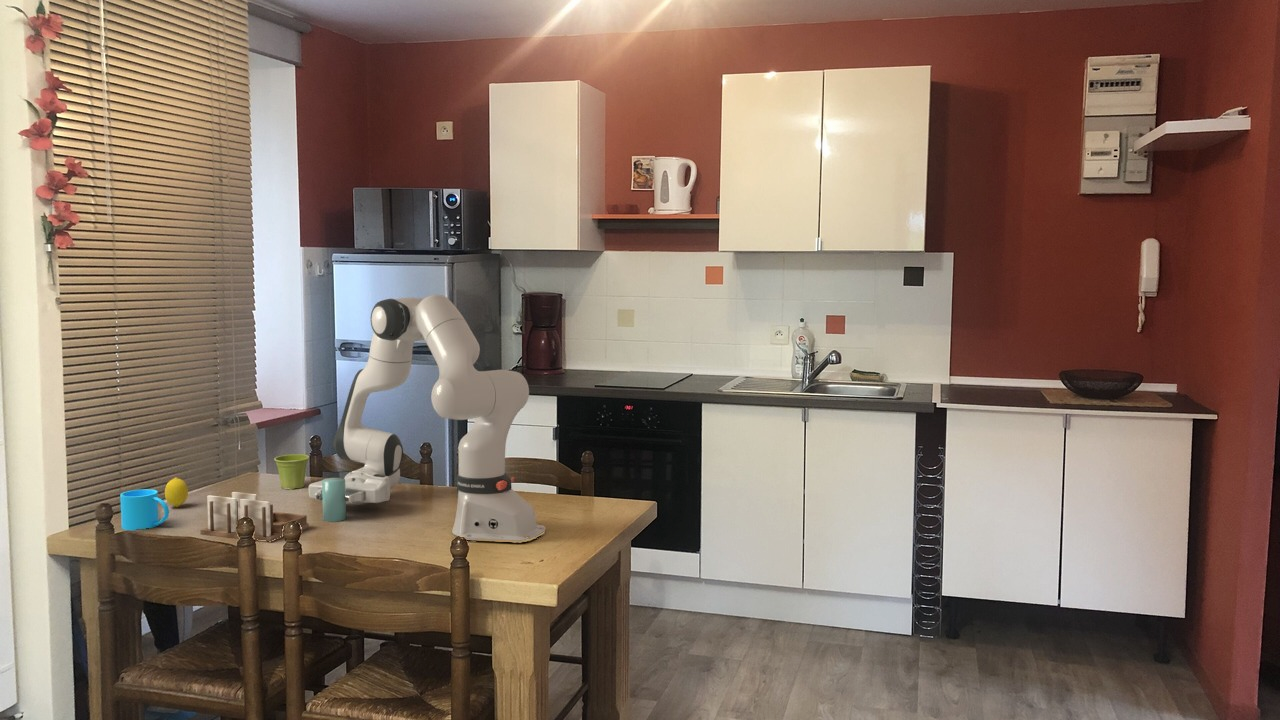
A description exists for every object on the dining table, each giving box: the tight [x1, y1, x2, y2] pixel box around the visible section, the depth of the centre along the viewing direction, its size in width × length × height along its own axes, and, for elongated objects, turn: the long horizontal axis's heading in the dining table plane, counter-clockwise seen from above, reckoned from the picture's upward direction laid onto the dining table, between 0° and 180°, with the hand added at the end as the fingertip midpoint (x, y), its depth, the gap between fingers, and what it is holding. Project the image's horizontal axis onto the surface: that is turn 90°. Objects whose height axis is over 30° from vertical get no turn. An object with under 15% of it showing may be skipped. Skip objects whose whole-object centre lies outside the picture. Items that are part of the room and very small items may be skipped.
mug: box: [120, 488, 170, 531], centre depth 245 cm, size 12×8×8 cm
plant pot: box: [274, 454, 310, 490], centre depth 287 cm, size 9×9×9 cm
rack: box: [199, 491, 310, 541], centre depth 242 cm, size 20×14×9 cm
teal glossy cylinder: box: [321, 477, 347, 523], centre depth 253 cm, size 6×6×10 cm
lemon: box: [164, 476, 189, 508], centre depth 263 cm, size 6×6×8 cm
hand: (332, 498), depth 252 cm, fingers open, 7 cm apart
